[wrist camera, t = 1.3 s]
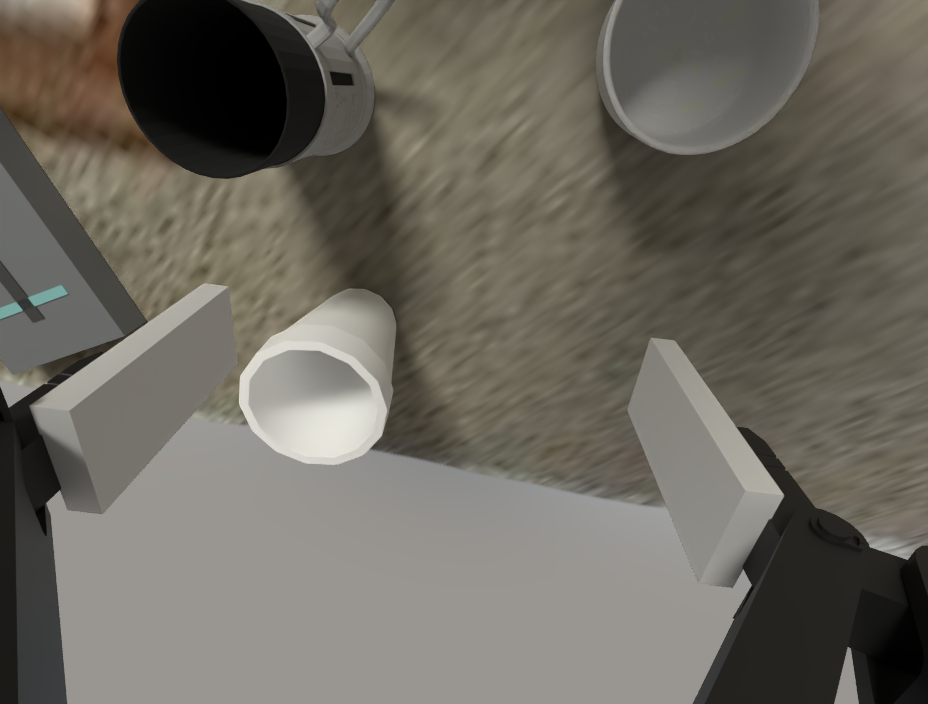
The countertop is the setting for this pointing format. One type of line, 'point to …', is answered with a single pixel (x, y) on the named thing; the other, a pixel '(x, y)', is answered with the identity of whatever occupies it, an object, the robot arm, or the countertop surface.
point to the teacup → (702, 67)
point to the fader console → (50, 270)
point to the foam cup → (324, 381)
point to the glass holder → (245, 82)
